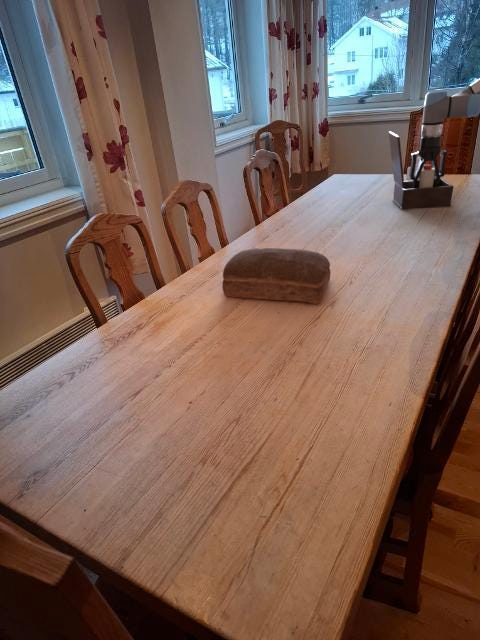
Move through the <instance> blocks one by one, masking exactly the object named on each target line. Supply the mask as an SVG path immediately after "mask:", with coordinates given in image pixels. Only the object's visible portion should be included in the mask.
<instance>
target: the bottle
mask: <svg viewBox="0 0 480 640" xmlns="http://www.w3.org/2000/svg"><path fill="white" fill-rule="evenodd" d="M432 167H433V166H432V163H425V165H424V166H423V168H422V170H421V173H420V175H419V178H418V180H419V181H420V182H419V188H428V187H433V184H434V176H435V169H434V168H432Z"/></svg>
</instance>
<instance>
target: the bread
mask: <svg viewBox="0 0 480 640" xmlns="http://www.w3.org/2000/svg"><path fill="white" fill-rule="evenodd" d="M330 267H331V262H330V260H329V259H328V257H326V255H324V254H322V253H320V252H317V251H311V250H305V249H299V248H297V249H296V248H282V247H281V248H280V247H263V248H256V247H255V248H250V249H245V250H241V251H238V253H236V254H234V255H233V256H232V257H231V258H230V259H229V260H228V261H227V263H226V264H225V265H224V268H223V271H222V279H223V280H222V292H223V294H224V296H226V297H233V298H241V299H242V298H243V299H255V300H256V299H258V300H270V301H289V302H305V303H309V304H320V303H321V301H322V300H323V297H324V294H325V292H326V288H327V286H328V284H329V282H330V279H331V268H330Z"/></svg>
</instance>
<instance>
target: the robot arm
mask: <svg viewBox="0 0 480 640" xmlns="http://www.w3.org/2000/svg"><path fill="white" fill-rule="evenodd" d="M479 115H480V78H478V79H477V80H475V81H474V82H473V83H471V84H469V86H466V87H465V88H463V89H462V90H460V91H457V92H455V93H454V94H453V95H450V96H449V95H448V91H447V90H433V91H429V92H427V93H426V94H425V96H424V103H423V114H422V122H421V130H420V131H421V132H420V133H421V134H420V135H421V137H420V142H419V149H418V150H417V152H412V153H411V154H410V158H411V161H410V162H411V163H410V166H409V167H410V173H409V178H410V179H412V180H413V188H419V182H420V181H419V180H418V178H419V175H420V173H421V170H422V168H423V166H424V164H426V162H431V165H432V167H433V168H434V169H435V178H434V184H433V187H436V186H438V183H439V179H441V178H443V177H445V174H446V173H445V172H446V160H447V159H446V158H447V155H448V151H447V150H446V149H441V144H442V134H443V128H444V121H445V119H455V118H456V119H458V118H460V119H461V118H467V119H469V118H472V117H473V118H474V117H478V116H479ZM418 156H420V157H421V159H420V162H419V165H418V167H417V170H416V172H415V167H416V159H417V158H418ZM439 156H440V158H439V167H438V158H437V157H439ZM414 172H415V175H414Z"/></svg>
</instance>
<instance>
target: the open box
mask: <svg viewBox="0 0 480 640" xmlns="http://www.w3.org/2000/svg"><path fill="white" fill-rule="evenodd" d="M404 186H405V188H404V189H402V188H401V187H400V186H399V185H398V184H397V183H396V182H395V181H394V189H393V199H392V201H393V202H394V204H395V205H396V206H397V207H398V208H399V209H400V210H401V211H405V210H419V209H420V210H421V209H433V208H434V209H435V208H436V209H437V208H447V207H451V206H452V205H451V204H452V199H453V192H454V185H452V184H451V183H450V182H448V181H446V180H445V179H444V178H443V177H440V179H439V183H438V186H436V187H428V188H413V181H406V180H404Z"/></svg>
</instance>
